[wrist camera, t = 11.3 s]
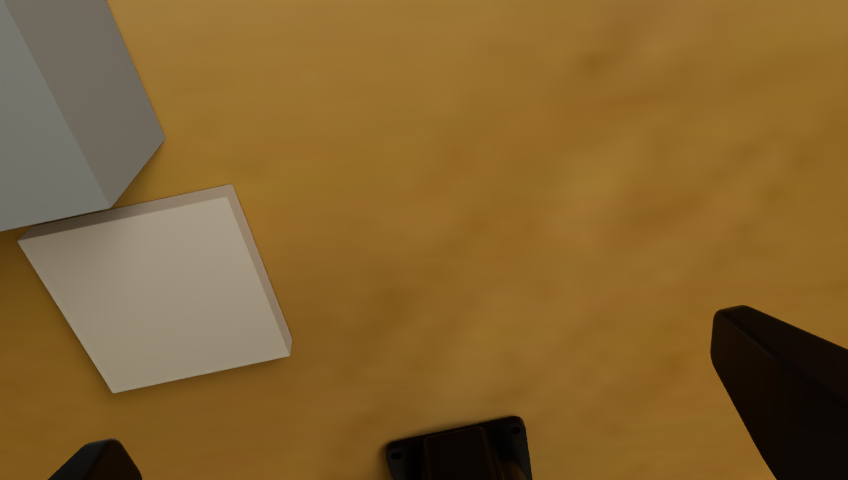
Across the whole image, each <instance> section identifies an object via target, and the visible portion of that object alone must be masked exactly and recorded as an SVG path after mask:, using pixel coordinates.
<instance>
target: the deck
mask: <svg viewBox="0 0 848 480" xmlns="http://www.w3.org/2000/svg"><path fill="white" fill-rule="evenodd" d="M17 242H18V244H19V245H20V247H21V248H22V250H23V252H24V253H25V255H26V256H27V258H28V260H29V261H30V263H31V264H32V266H33V267H34V269H35V271H36V272H37V274H38V275H39V277H40V279H41V280H42V282H43V283H44V285H45V287H46V288H47V290H48V291H49V293H50V294H51V296H52V298H53V299H54V301H55V302H56V304H57V306H58V307H59V309H60V310H61V312H62V313H63V315H64V317H65V318H66V320H67V321H68V323H69V325H70V326H71V328H72V329H73V331H74V333H75V334H76V336H77V337H78V339H79V340H80V342H81V344H82V345H83V347H84V348H85V350H86V352H87V353H88V355H89V356H90V358H91V360H92V361H93V363H94V364H95V366H96V367H97V369H98V371H99V372H100V374H101V375H102V377H103V379H104V380H105V382H106V383H107V385H108V387H109V388H110V390H111V391H112V393H118V392H122V391H127V390H132V389H136V388H141V387H146V386H151V385H155V384H160V383H165V382H170V381H174V380H179V379H184V378H188V377H193V376H198V375H203V374H207V373H212V372H217V371H221V370H226V369H231V368H236V367H240V366H245V365H250V364H254V363H259V362H264V361H269V360H273V359H278V358H283V357H287V356H290V351H291V344H292V338H291V335H290V333H289V330H288V327H287V325H286V322H285V320H284V317H283V314H282V312H281V309H280V307H279V304H278V302H277V299H276V296H275V294H274V291H273V289H272V286H271V283H270V281H269V278H268V276H267V273H266V271H265V268H264V265H263V263H262V260H261V258H260V255H259V252H258V250H257V247H256V245H255V242H254V239H253V237H252V234H251V232H250V229H249V227H248V224H247V221H246V219H245V216H244V214H243V211H242V208H241V206H240V203H239V201H238V198H237V196H236V193H235V190H234V188H233V185H232V184H230V185H225V186H220V187H216V188H211V189H206V190H202V191H197V192H192V193H187V194H183V195H178V196H173V197H169V198H164V199H159V200H154V201H150V202H145V203H140V204H136V205H131V206H126V207H121V208H117V209H112V210H107V211H103V212H98V213H93V214H88V215H84V216H79V217H74V218H70V219H65V220H60V221H55V222H51V223H46V224H41V225H37V226H32V227H30V229H29V230H28V231H27V232H26V233H25V234H24V235H23V236H22V237H21V238H20V239H19V240H18V241H17Z"/></svg>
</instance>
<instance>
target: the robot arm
mask: <svg viewBox="0 0 848 480" xmlns="http://www.w3.org/2000/svg"><path fill="white" fill-rule="evenodd" d="M710 354H711V360H712V363H713V366H714V368H715V370H716V372H717V374H718V376H719V377H720V379H721V381H722V383H723V385H724V387H725V389H726V391H727V393H728V394H729V396H730V398H731V400H732V402H733V404H734V406H735V408H736V410H737V411H738V413H739V415H740V417H741V419H742V421H743V423H744V425H745V426H746V428H747V430H748V432H749V434H750V436H751V438H752V440H753V442H754V443H755V445H756V447H757V449H758V450H759V452H760V454H761V456H762V458H763V459H764V461H765V462H766V464H767V465H768V467H769V469H770V470H771V472H772V473H773V475H774V476H775V478H776V479H777V480H848V349H846V348H843V347H841V346H839V345H836V344H834V343H832V342H830V341H827V340H825V339H823V338H820V337H818V336H816V335H813V334H811V333H809V332H807V331H804V330H802V329H800V328H797V327H795V326H793V325H790V324H788V323H786V322H784V321H781V320H779V319H777V318H774V317H772V316H770V315H768V314H765V313H763V312H761V311H758V310H756V309H754V308H751V307H749V306H745V305H739V306H734V307H730V308H725V309H721V310H718V311H717V312H716V313H715V315H714V319H713V328H712V339H711V349H710ZM513 427H514V428H513ZM385 451H386V460H387V463H388V466H389V469H390V472H391V475H392V479H393V480H532V473H531V466H530V458H529V451H528V443H527V436H526V428H525V425H524V422H523V420H522V419H521V418H520V417H517V416H513V417H507V418H503V419H498V420H493V421H489V422H484V423H479V424H474V425H470V426H465V427H460V428H456V429H451V430H446V431H441V432H437V433H432V434H427V435H422V436H418V437H413V438H408V439H404V440H399V441H394V442H391V443H389V444H388V445H387V446H386V448H385ZM395 452H397V453H395ZM48 480H142V476H141V473H140V471H139V470H138V468H137V467H136V465H135V464H134V462H133V461H132V459H131V457H130V456H129V454H128V453H127V451H126V450H125V448H124V447H123V445H122V444H121V443H120V441H118V440H116V439H112V438H110V439H105V440H100V441H95V442H91V443H88V444H86V445H84V446H83V447H82V448H81V449H79V450H78V451H77V452H76V453H75V454H74V455H73V456H72V457H71V458H70V459H69V460H68V461H67V462H66V463H65V464H64V465H63V466H62V467H61V468H60V469H59V470H57V471H56V472H55V473H54V474H53V475H52V476H51V477H50V478H49V479H48Z"/></svg>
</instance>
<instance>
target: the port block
mask: <svg viewBox="0 0 848 480" xmlns="http://www.w3.org/2000/svg"><path fill="white" fill-rule="evenodd" d="M164 140H165V136H164V134H163V132H162V129H161V127H160V125H159V122H158V120H157V118H156V116H155V113H154V111H153V109H152V106H151V104H150V102H149V99H148V97H147V95H146V92H145V90H144V88H143V85H142V83H141V81H140V78H139V76H138V74H137V72H136V69H135V67H134V65H133V62H132V60H131V58H130V55H129V53H128V51H127V48H126V46H125V44H124V41H123V39H122V37H121V35H120V32H119V30H118V28H117V25H116V23H115V21H114V18H113V16H112V14H111V11H110V9H109V7H108V4H107V2H106V0H0V231H5V230H9V229H14V228H19V227H24V226H28V225H33V224H38V223H42V222H47V221H52V220H57V219H61V218H66V217H71V216H75V215H80V214H85V213H90V212H94V211H99V210H104V209H108V208H111V207H112V206H113V205H114V203H115V202H116V201H117V199H118V198H119V197H120V196H121V194H122V193H123V192H124V191H125V189H126V188H127V187H128V186H129V184H130V183H131V182H132V180H133V179H134V178H135V177H136V175H137V174H138V173H139V172H140V170H141V169H142V168H143V166H144V165H145V164H146V163H147V161H148V160H149V159H150V158H151V156H152V155H153V154H154V153H155V151H156V150H157V149H158V147H159V146H160V145H161V144H162V142H163V141H164Z"/></svg>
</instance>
